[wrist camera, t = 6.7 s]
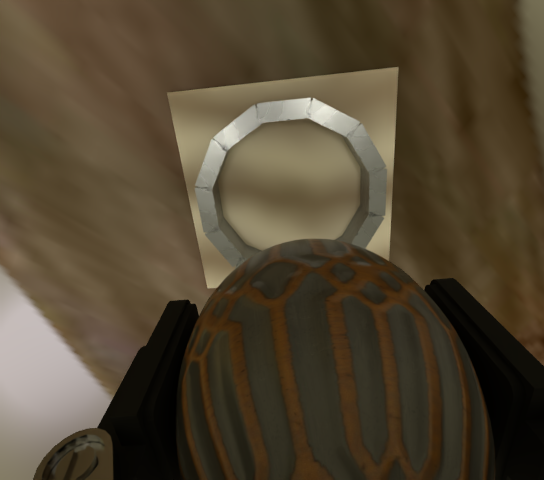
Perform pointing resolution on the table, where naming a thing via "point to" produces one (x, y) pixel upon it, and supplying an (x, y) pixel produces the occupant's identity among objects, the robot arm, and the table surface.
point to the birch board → (287, 160)
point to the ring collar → (348, 127)
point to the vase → (328, 376)
